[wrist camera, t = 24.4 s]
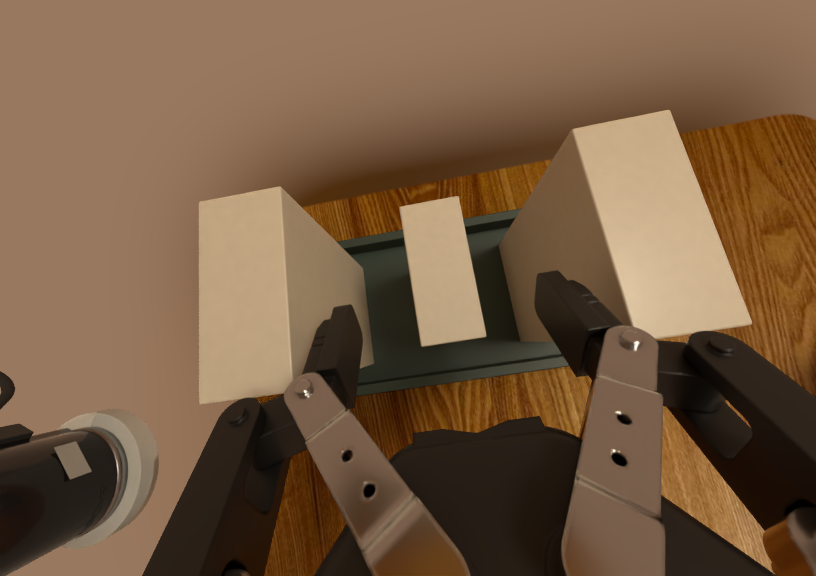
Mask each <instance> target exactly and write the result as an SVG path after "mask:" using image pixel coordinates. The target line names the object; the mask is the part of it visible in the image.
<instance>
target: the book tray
mask: <svg viewBox="0 0 816 576" xmlns="http://www.w3.org/2000/svg"><path fill="white" fill-rule="evenodd" d="M521 209H522V208H521ZM521 209H516V210H510V211H505V212H499V213H494V214H488V215H482V216H477V217H471V218H466V219H463V221H464V226H465V231H466V236H467V241H468V246H469V251H470V256H471V261H472V266H473V271H474V276H475V281H476V286H477V291H478V296H479V301H480V306H481V311H482V316H483V320H484V325H485V330H486V337H484V338H477V339H471V340H464V341H458V342H451V343H445V344H438V345H431V346H425V347H422V346H421V343H420V337H419V330H418V324H417V318H416V311H415V305H414V298H413V292H412V286H411V279H410V273H409V267H408V260H407V254H406V247H405V241H404V235H403V230H399V231H394V232H388V233H382V234H377V235H371V236H366V237H360V238H355V239H349V240H344V241H338V242H337V243H338V244H339V245H340V246H341V247H342V248H343V249H344V250H345V251H346V252H347V253H348V254H349V255H350V256H351V257H352V258H353V259H354V260H355V261H356V262H357V263H358V264H359V265H360V266H361V267H362V268H363V272H364V281H365V289H366V298H367V306H368V315H369V324H370V332H371V341H372V349H373V358H374V364H372V365H369V366H366V367H363V368H360V371H359V379H358V387H357V395H356V396H361V395H368V394H375V393H382V392H389V391H396V390H403V389H411V388H418V387H425V386H432V385H439V384H446V383H453V382H460V381H467V380H474V379H481V378H488V377H495V376H502V375H510V374H517V373H524V372H531V371H538V370H545V369H552V368H559V367H566V366H569V365H568V363H567V361H566V360H565V358H564V357H563V355H562V354H561V352H560V351H559V349H558V347H557V346H556V344H555V343H554V342H521V341H520V337H519V333H518V329H517V324H516V320H515V315H514V311H513V307H512V302H511V298H510V293H509V289H508V285H507V280H506V276H505V271H504V267H503V263H502V258H501V254H500V249H499V243H500V242H501V240H502V239H503V237H504V236H505V234H506V232H507V231H508V229H509V228H510V226H511V225H512V223H513V221H514V220H515V218H516V217H517V215H518V214H519V212H520V210H521Z"/></svg>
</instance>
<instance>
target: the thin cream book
mask: <svg viewBox="0 0 816 576" xmlns="http://www.w3.org/2000/svg"><path fill="white" fill-rule="evenodd" d="M399 209H400V215H401V222H402V228H403V235H404V241H405V247H406V254H407V260H408V267H409V273H410V279H411V286H412V292H413V298H414V305H415V311H416V318H417V324H418V330H419V337H420V343H421V346H422V347H425V346H431V345H438V344H445V343H451V342H458V341H464V340H471V339H477V338H484V337H486V330H485V325H484V320H483V316H482V311H481V306H480V301H479V296H478V291H477V286H476V281H475V276H474V271H473V266H472V261H471V256H470V251H469V246H468V241H467V236H466V231H465V226H464V221H463V216H462V211H461V206H460V202H459V197H458V196H455V197H450V198H445V199H439V200H434V201H429V202H423V203H418V204H413V205H407V206H402V207H400V208H399Z"/></svg>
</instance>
